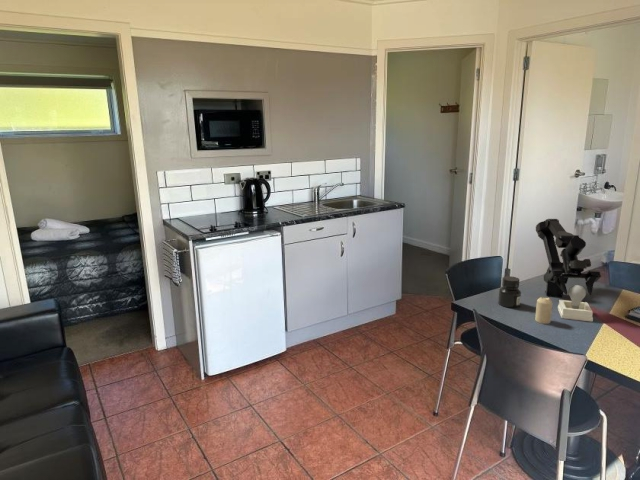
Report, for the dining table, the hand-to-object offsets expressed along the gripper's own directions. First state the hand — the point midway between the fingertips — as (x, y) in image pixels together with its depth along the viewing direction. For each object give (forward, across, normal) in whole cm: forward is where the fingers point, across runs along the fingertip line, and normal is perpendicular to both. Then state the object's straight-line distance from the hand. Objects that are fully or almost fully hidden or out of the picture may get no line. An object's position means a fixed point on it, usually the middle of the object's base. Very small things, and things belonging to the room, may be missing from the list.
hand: (578, 294), depth 180 cm
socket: (+6, 0, +8) cm, 9 cm away
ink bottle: (-1, -24, +14) cm, 28 cm away
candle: (+12, -15, +2) cm, 19 cm away
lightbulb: (+5, 0, +6) cm, 8 cm away
